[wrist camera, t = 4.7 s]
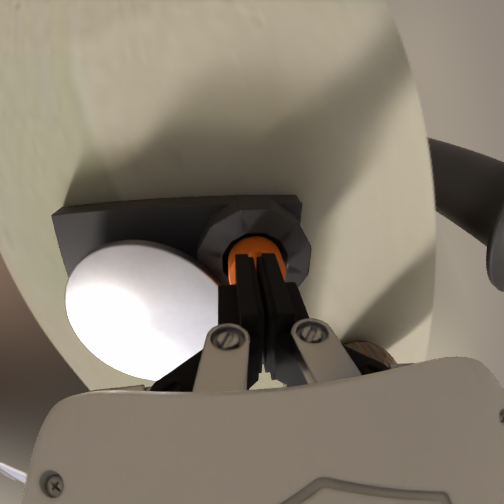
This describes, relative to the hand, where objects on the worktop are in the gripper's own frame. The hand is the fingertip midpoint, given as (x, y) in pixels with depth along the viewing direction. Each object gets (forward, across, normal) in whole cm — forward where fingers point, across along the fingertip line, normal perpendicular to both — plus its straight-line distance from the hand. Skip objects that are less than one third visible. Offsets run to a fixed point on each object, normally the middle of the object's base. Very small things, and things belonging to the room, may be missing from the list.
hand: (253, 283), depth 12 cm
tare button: (+2, 0, 0) cm, 2 cm away
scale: (+5, +4, +4) cm, 7 cm away
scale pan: (+2, +6, +4) cm, 7 cm away
